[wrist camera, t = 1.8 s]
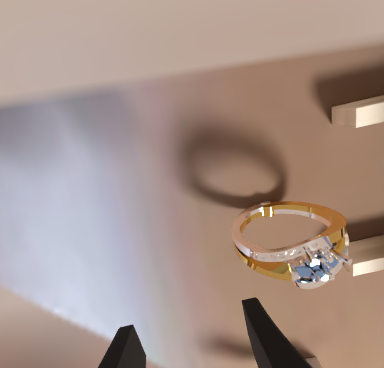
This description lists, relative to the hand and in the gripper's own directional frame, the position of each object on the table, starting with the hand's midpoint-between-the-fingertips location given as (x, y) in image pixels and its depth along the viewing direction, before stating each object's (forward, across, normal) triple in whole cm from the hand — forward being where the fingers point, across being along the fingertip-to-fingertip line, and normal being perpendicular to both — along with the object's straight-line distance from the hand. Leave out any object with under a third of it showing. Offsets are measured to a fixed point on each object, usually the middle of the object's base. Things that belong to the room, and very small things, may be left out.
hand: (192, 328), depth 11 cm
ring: (+10, -7, 0) cm, 12 cm away
